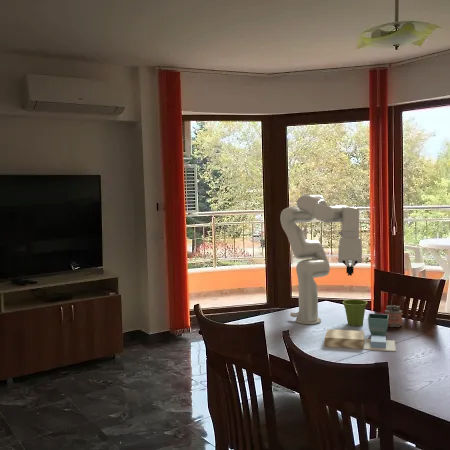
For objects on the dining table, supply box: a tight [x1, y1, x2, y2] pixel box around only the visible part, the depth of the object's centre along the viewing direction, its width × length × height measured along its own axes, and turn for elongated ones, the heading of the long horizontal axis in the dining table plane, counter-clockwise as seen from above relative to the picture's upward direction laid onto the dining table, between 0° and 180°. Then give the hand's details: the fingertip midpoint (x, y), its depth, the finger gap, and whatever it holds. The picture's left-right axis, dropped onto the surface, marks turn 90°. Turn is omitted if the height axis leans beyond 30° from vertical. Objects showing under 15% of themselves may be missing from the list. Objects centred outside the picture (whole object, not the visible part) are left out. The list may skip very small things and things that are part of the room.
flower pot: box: [367, 313, 389, 336], centre depth 232 cm, size 9×9×9 cm
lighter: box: [384, 304, 403, 328], centre depth 247 cm, size 8×3×10 cm, turn 84°
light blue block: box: [370, 334, 387, 348], centre depth 217 cm, size 6×9×2 cm, turn 163°
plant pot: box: [342, 298, 368, 327], centre depth 251 cm, size 12×12×11 cm
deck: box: [324, 328, 365, 350], centre depth 221 cm, size 16×13×4 cm
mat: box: [363, 338, 397, 352], centre depth 217 cm, size 12×14×1 cm
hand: (349, 275), depth 229 cm, fingers closed
